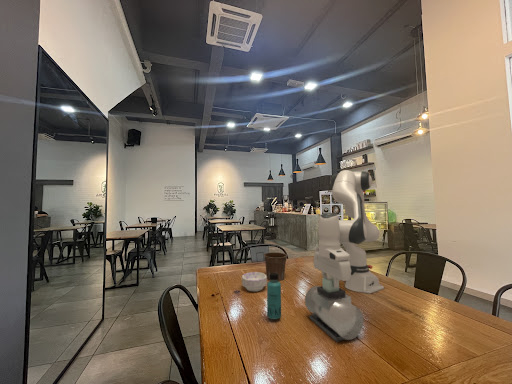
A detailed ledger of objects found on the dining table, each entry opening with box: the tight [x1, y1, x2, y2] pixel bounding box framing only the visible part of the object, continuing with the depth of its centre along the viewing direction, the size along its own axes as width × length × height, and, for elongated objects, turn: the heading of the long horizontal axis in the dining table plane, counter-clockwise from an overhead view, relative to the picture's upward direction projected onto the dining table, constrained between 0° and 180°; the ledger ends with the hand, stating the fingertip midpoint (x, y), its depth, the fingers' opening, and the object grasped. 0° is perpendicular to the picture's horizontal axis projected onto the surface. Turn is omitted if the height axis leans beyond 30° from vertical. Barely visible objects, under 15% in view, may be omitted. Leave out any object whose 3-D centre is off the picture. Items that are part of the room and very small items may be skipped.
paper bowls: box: [241, 271, 268, 292], centre depth 135 cm, size 15×15×8 cm
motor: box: [304, 285, 364, 343], centre depth 94 cm, size 12×26×16 cm, turn 19°
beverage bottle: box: [266, 273, 282, 320], centre depth 99 cm, size 6×7×20 cm
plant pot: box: [263, 251, 288, 282], centre depth 154 cm, size 16×16×16 cm
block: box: [321, 274, 340, 293], centre depth 93 cm, size 5×4×8 cm
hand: (330, 284), depth 93 cm, fingers closed on block, 4 cm apart
